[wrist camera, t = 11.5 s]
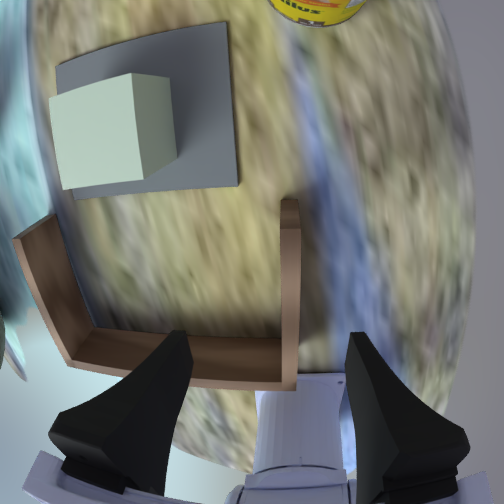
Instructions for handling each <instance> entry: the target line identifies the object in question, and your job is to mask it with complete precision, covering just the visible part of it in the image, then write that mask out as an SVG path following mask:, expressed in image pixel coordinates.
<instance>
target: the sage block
mask: <svg viewBox="0 0 504 504" xmlns="http://www.w3.org/2000/svg"><path fill="white" fill-rule="evenodd" d="M49 107H50V116H51V124H52V132H53V139H54V145H55V152H56V158H57V163H58V169H59V174H60V179H61V184H62V188H63V190H66V189H73V188H79V187H86V186H93V185H101V184H109V183H117V182H125V181H134V180H143V179H145V178H147V177H148V176H150V175H151V174H153V173H155V172H156V171H158V170H159V169H161V168H163V167H164V166H166V165H168V164H169V163H171V162H173V161H174V160H176V159H178V158H177V150H176V141H175V131H174V122H173V112H172V101H171V89H170V78H167V77H160V76H153V75H145V74H136V73H129V74H125V75H121V76H117V77H113V78H110V79H106V80H103V81H99V82H96V83H93V84H89V85H86V86H83V87H80V88H77V89H74V90H71V91H68V92H65V93H62V94H60V95H57V96H54V97H51V98H49Z"/></svg>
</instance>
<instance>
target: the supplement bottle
mask: <svg viewBox="0 0 504 504" xmlns="http://www.w3.org/2000/svg"><path fill="white" fill-rule="evenodd" d="M366 1H367V0H268V2H269V4H270V5H271V6H272V8H273V9H274V10H275V11H276V12H277V13H279V14H280V15H281V16H283V17H284V18H286V19H287V20H289V21H291V22H294V23H296V24H299V25H303V26H307V27H314V28H324V27H331V26H335V25H338V24H341V23H343V22H345V21H346V20H348V19H349V18H351V17H352V16H353V15H354V14H355V13H356V12H357V11H358V10H359V9H360V8H361V6H362V5H363V4H364V3H365V2H366Z"/></svg>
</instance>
